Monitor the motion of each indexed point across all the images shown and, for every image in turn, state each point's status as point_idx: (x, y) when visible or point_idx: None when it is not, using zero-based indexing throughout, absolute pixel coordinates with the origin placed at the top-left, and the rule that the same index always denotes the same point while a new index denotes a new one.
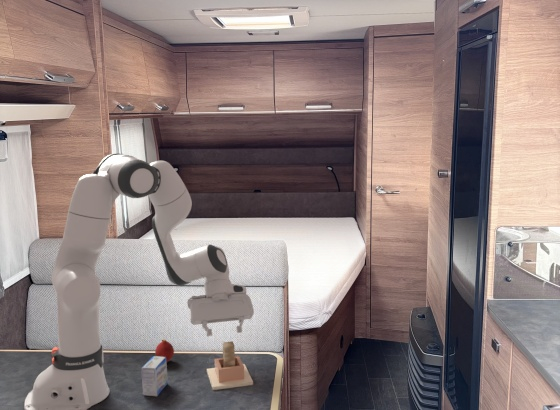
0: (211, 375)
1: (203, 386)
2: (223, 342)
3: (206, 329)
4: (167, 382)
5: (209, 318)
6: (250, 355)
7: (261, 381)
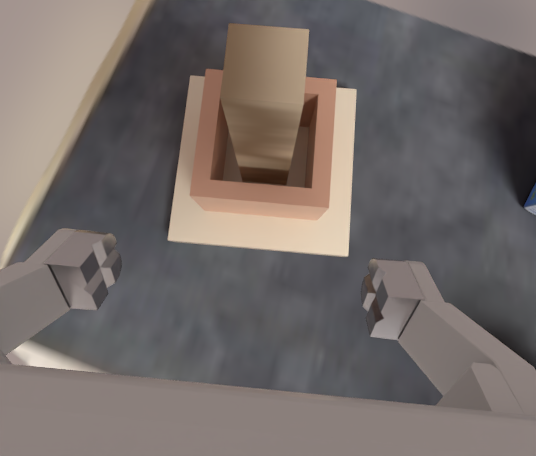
0: (340, 185)
1: (381, 138)
2: (297, 102)
3: (445, 307)
4: (527, 205)
5: (474, 416)
6: (103, 351)
7: (153, 97)
